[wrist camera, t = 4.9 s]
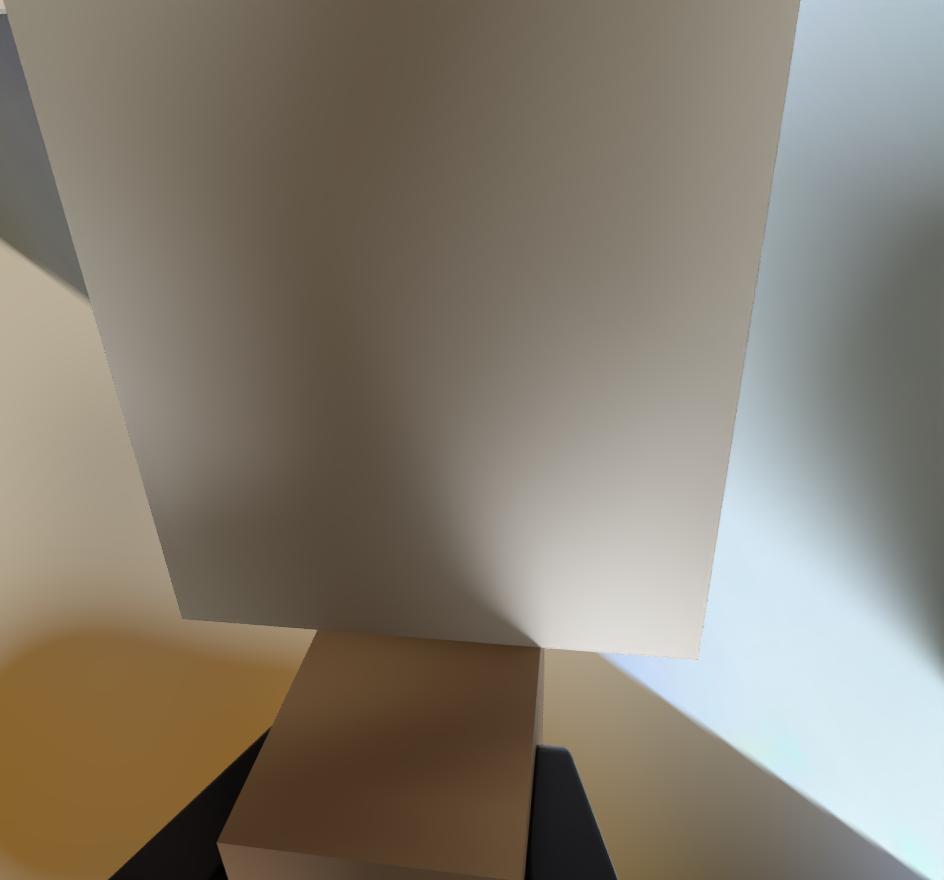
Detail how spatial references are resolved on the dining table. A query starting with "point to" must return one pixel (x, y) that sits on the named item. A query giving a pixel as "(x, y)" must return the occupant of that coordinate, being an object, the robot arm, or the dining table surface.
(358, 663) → the two-tone stepped block
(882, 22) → the dining table surface
